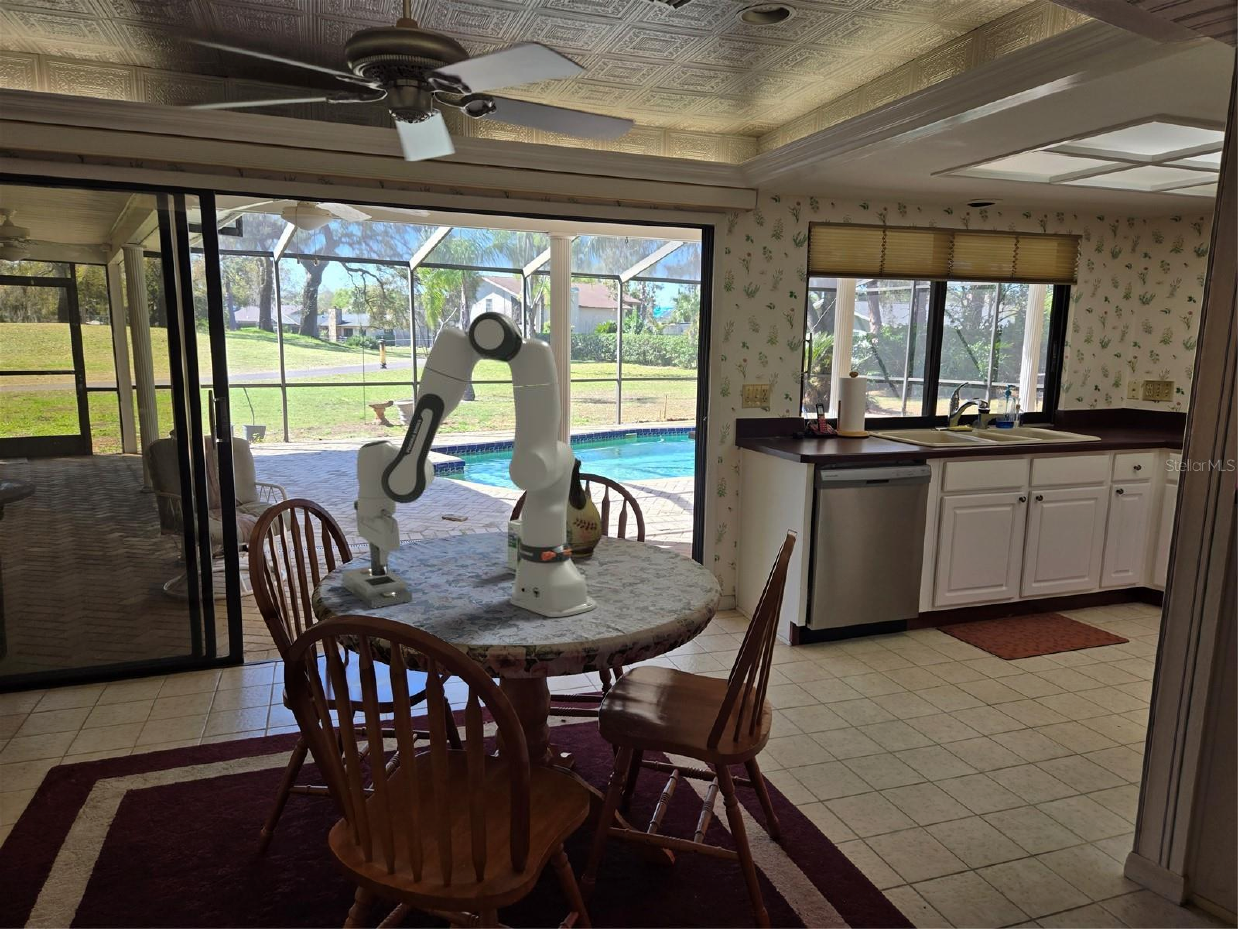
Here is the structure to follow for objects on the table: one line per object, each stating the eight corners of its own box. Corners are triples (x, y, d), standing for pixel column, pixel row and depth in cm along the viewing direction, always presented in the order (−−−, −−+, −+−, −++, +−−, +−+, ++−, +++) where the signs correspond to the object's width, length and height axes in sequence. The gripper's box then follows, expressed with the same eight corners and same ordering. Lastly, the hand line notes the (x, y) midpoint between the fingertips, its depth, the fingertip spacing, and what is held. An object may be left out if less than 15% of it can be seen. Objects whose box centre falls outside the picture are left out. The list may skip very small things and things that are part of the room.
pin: (390, 574, 191) (389, 540, 190) (374, 577, 189) (373, 542, 188) (384, 570, 195) (383, 537, 193) (368, 573, 192) (367, 539, 191)
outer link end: (407, 597, 192) (407, 580, 191) (367, 605, 186) (366, 587, 185) (380, 579, 207) (380, 562, 206) (342, 585, 201) (342, 568, 200)
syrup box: (506, 572, 214) (506, 521, 212) (523, 568, 218) (523, 518, 216) (519, 577, 210) (518, 524, 208) (536, 572, 214) (536, 521, 212)
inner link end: (412, 601, 189) (411, 590, 189) (371, 609, 183) (371, 598, 183) (393, 587, 200) (392, 578, 199) (354, 594, 194) (353, 584, 193)
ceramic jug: (551, 548, 241) (550, 452, 236) (600, 547, 242) (600, 452, 238) (551, 563, 224) (551, 460, 220) (604, 561, 226) (605, 460, 221)
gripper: (405, 512, 183) (407, 569, 185) (375, 498, 199) (377, 550, 201) (379, 515, 179) (381, 573, 181) (351, 501, 195) (353, 554, 197)
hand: (379, 561), depth 191 cm, fingers closed on pin, 4 cm apart
